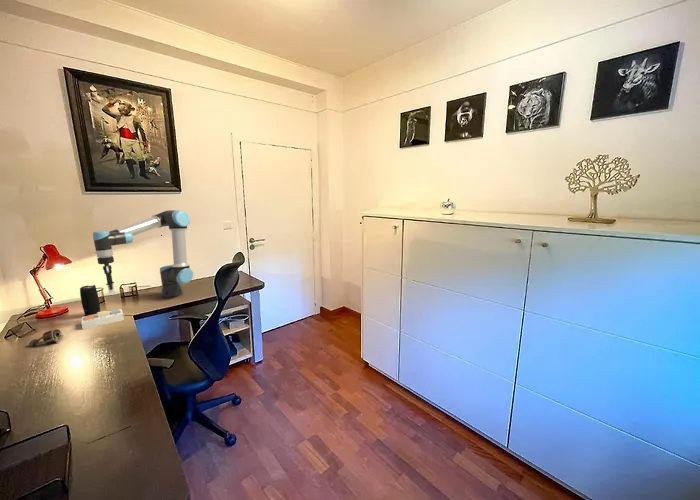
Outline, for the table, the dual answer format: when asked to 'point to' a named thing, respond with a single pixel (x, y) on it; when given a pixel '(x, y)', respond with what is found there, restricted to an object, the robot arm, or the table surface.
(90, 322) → the button panel
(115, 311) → the one dot button
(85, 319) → the three dot button
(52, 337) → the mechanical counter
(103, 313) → the two dot button
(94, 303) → the portable speaker
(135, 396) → the table surface
